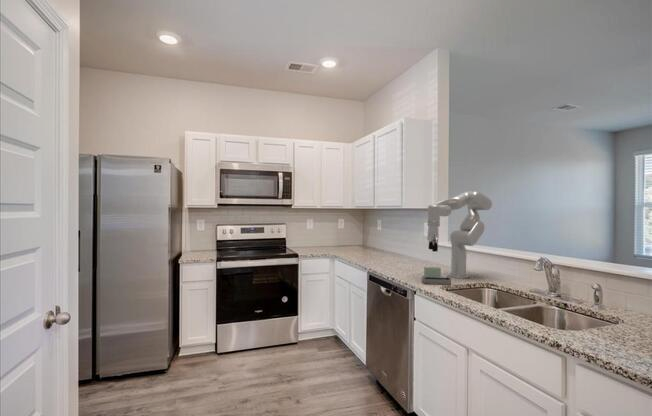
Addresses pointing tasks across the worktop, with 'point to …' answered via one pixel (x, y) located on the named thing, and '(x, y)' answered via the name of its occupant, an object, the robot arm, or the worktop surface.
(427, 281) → the door track
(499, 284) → the worktop surface
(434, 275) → the door panel
